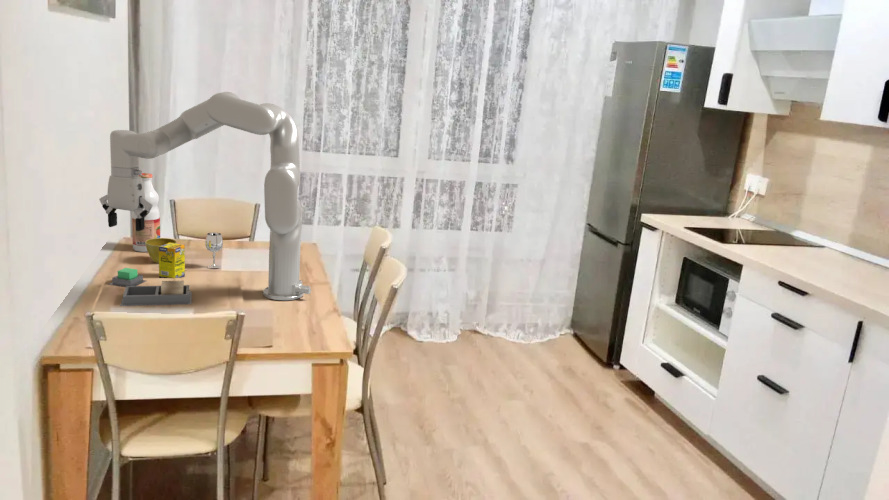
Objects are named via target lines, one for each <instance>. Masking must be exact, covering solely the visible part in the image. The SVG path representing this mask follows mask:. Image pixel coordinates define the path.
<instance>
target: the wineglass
mask: <svg viewBox="0 0 889 500" xmlns="http://www.w3.org/2000/svg"><path fill="white" fill-rule="evenodd" d="M204 242H205V243H204V244H205V245H204V246H205V248H206V250H208V251H209V252H211V253H212V258H213V262H212V265H211V266H210V265H208V266H209V268H210V267H211V268H219V267H221V266H220V265H218V266H217V265H216V253H217V252H220V251H221V250H222V248H223V246H224V245H223V244H224V241H223V235H222V233H220V232H217V231H216V232H208V233H206V236H205V240H204ZM209 268H208V269H209ZM219 269H220V268H219Z"/></svg>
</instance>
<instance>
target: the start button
mask: <svg viewBox="0 0 889 500" xmlns="http://www.w3.org/2000/svg"><path fill="white" fill-rule="evenodd" d="M137 274H138V269H137V268H130V267H125V268H122V269H119V270H117V276H118V278H124V279H132V278H134V277H137V276H138V275H137Z"/></svg>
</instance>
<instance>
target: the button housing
mask: <svg viewBox="0 0 889 500" xmlns="http://www.w3.org/2000/svg"><path fill="white" fill-rule="evenodd" d="M137 275H138V276H137V277H134V278H132V279H124V278H118V275H116V276H113V277H111V278H112V280H111V281H112V282H110V283H108V284H107V285H109V286H116V287H122V288H126V286H140V285H141V284H143V283H146V282H147V280H146V279H145V280H144V276H143V274H139V273H137Z"/></svg>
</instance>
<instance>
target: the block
mask: <svg viewBox="0 0 889 500" xmlns="http://www.w3.org/2000/svg"><path fill="white" fill-rule="evenodd" d="M184 283H185V282H184V280H161V285H160V286H161V295H174V294H184V285H185V284H184Z"/></svg>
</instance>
